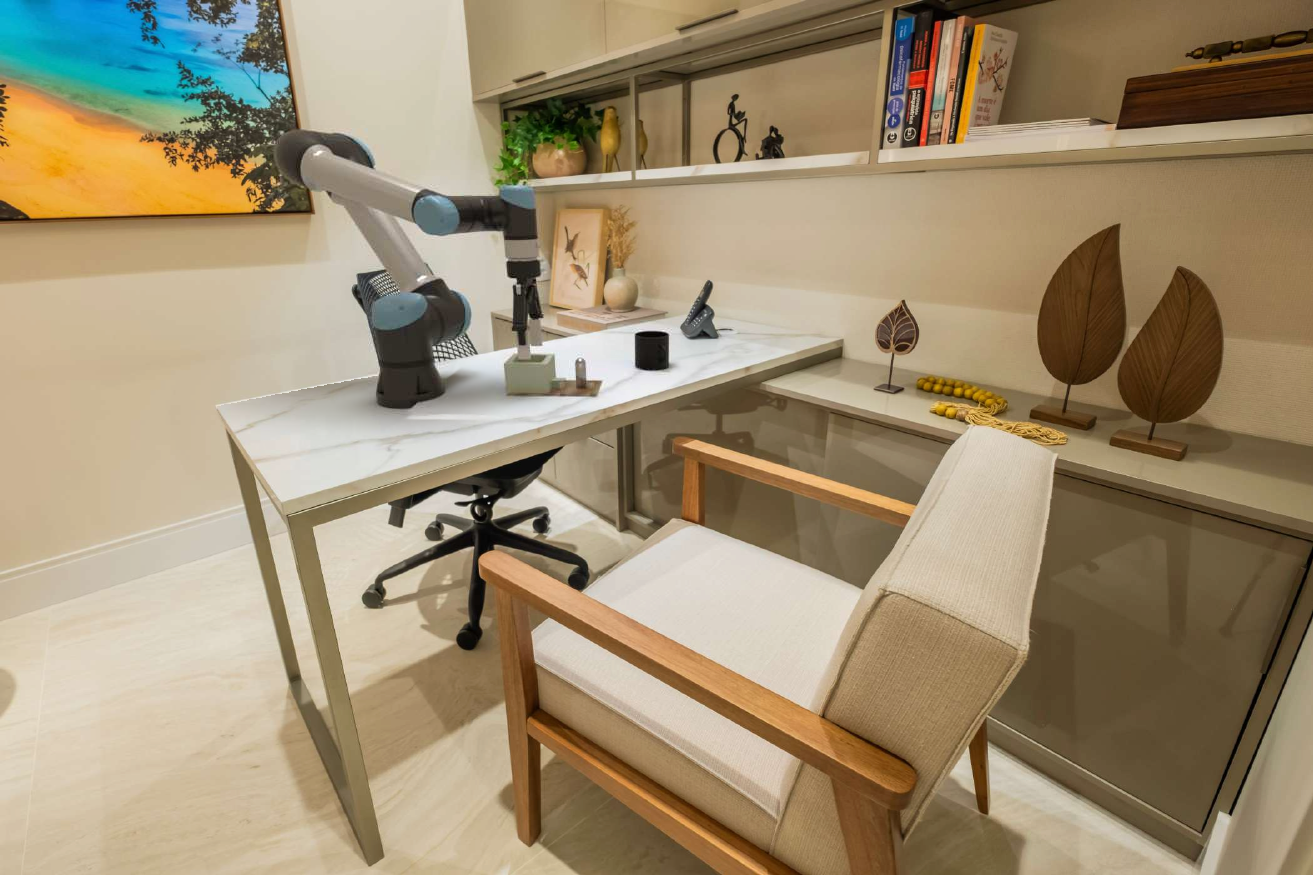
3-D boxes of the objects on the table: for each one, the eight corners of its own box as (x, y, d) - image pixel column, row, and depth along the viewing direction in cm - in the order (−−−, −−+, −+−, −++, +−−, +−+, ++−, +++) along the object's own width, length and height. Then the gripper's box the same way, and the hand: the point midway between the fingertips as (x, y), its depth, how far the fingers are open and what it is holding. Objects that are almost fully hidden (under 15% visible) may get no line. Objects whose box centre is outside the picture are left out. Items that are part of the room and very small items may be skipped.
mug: (650, 374, 167) (650, 341, 164) (628, 364, 176) (628, 333, 173) (680, 369, 171) (680, 337, 168) (657, 360, 181) (657, 329, 178)
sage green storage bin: (506, 392, 147) (503, 363, 145) (516, 381, 156) (513, 353, 154) (561, 393, 147) (559, 364, 144) (568, 381, 156) (566, 353, 154)
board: (506, 400, 145) (505, 383, 144) (519, 384, 158) (518, 368, 156) (596, 401, 145) (596, 384, 143) (602, 385, 157) (602, 368, 156)
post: (575, 388, 150) (574, 359, 148) (577, 385, 153) (575, 356, 150) (585, 388, 150) (584, 359, 148) (587, 385, 153) (586, 356, 150)
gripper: (527, 264, 129) (536, 365, 137) (549, 254, 152) (555, 340, 160) (491, 265, 129) (501, 365, 137) (518, 254, 153) (526, 341, 160)
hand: (531, 352), depth 148 cm, fingers open, 13 cm apart
